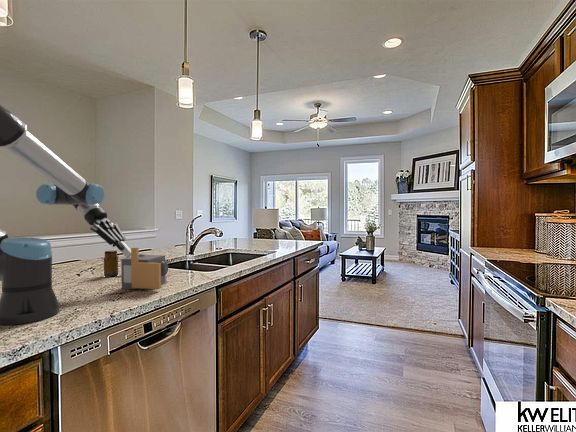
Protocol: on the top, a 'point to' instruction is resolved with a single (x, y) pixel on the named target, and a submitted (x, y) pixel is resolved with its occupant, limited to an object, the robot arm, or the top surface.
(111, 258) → the condiment
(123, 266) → the housing
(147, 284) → the door
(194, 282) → the top surface
